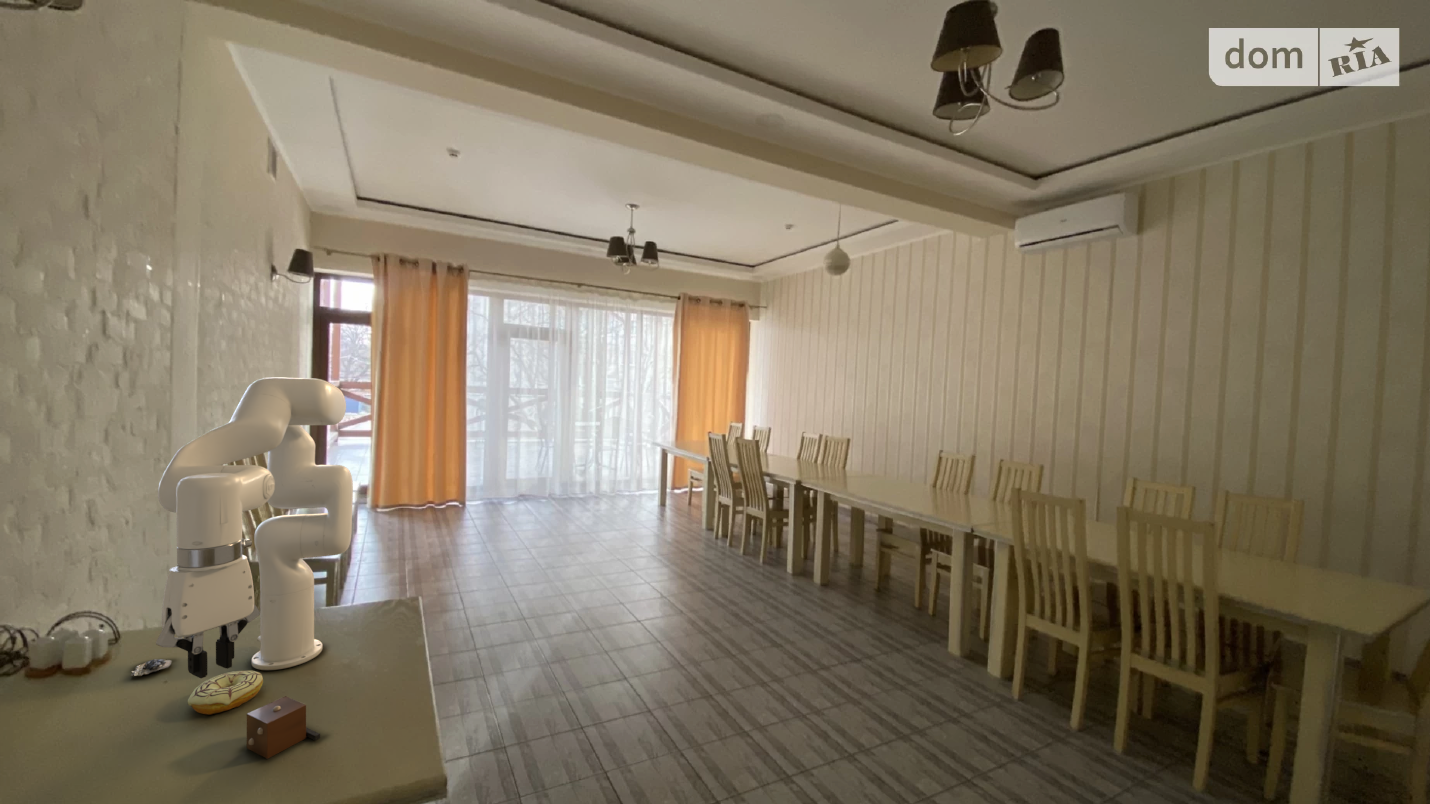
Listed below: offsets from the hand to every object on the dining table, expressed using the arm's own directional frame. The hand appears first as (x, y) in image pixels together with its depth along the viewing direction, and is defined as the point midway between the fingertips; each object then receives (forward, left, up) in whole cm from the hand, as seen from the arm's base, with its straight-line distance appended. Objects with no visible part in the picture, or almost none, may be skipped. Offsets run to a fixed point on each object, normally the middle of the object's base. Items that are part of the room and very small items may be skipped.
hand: (211, 669), depth 88 cm
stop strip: (0, +13, -17) cm, 21 cm away
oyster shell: (-49, +11, -17) cm, 53 cm away
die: (0, +9, -17) cm, 19 cm away
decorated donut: (-22, +12, -17) cm, 30 cm away
